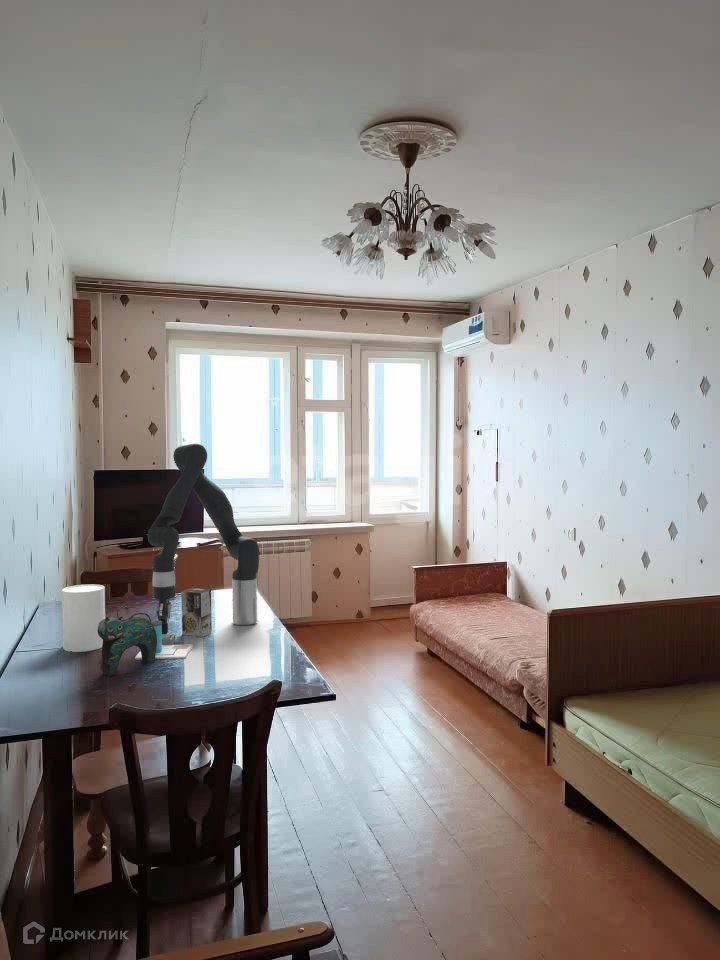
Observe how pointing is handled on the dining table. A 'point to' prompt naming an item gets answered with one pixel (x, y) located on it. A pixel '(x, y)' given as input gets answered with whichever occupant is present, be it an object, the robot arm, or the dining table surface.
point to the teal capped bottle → (158, 634)
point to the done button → (166, 636)
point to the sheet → (171, 652)
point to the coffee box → (196, 612)
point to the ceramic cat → (126, 640)
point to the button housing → (169, 640)
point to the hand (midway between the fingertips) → (164, 633)
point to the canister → (82, 617)
